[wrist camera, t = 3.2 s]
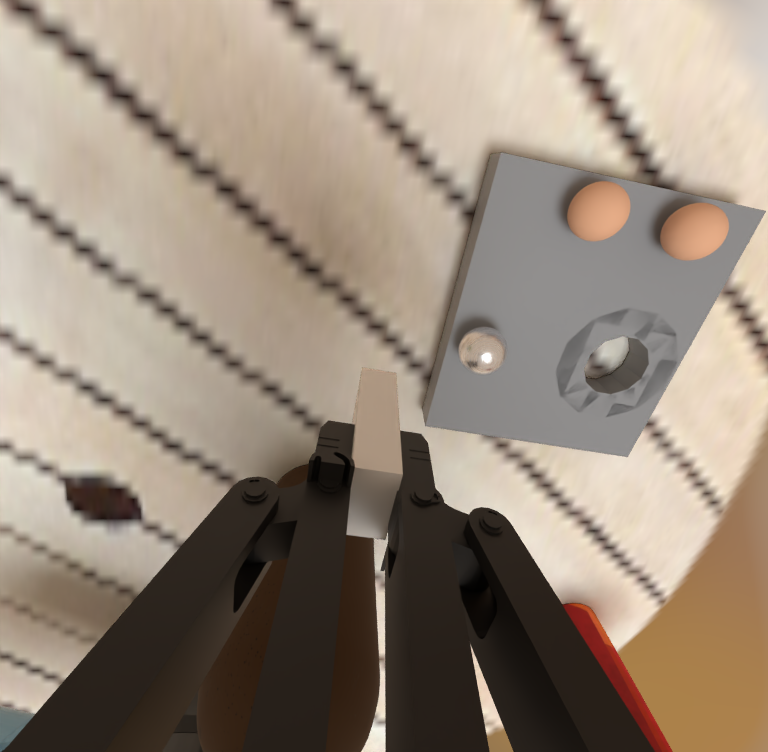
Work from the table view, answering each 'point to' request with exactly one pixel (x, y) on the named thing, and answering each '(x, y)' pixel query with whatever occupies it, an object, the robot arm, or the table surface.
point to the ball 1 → (483, 350)
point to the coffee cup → (616, 672)
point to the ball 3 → (694, 231)
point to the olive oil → (249, 643)
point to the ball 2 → (598, 211)
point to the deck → (572, 309)
